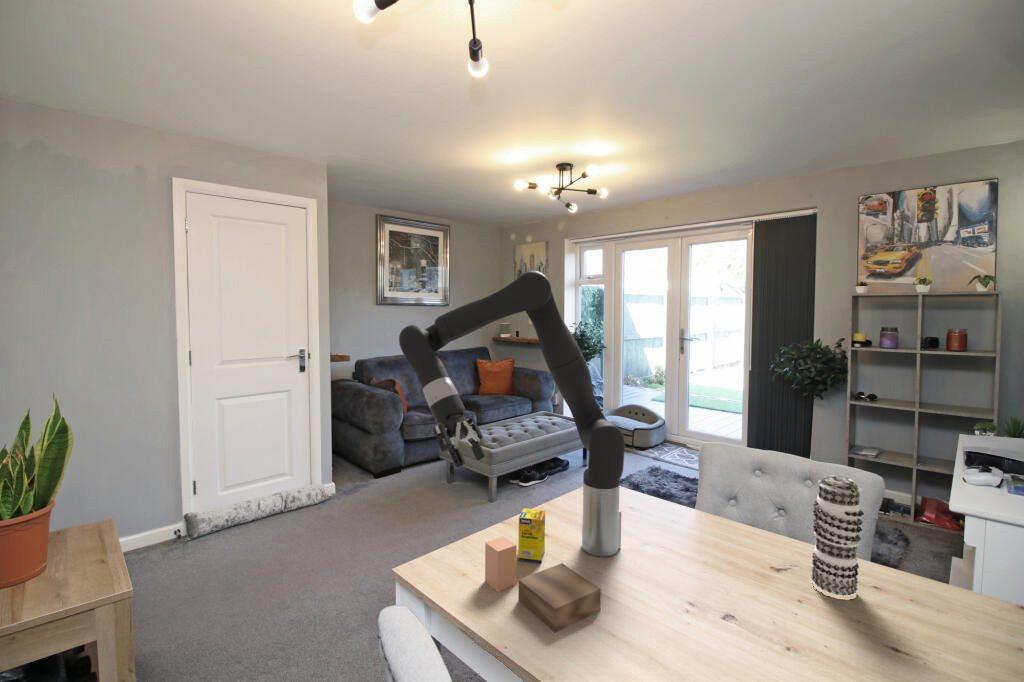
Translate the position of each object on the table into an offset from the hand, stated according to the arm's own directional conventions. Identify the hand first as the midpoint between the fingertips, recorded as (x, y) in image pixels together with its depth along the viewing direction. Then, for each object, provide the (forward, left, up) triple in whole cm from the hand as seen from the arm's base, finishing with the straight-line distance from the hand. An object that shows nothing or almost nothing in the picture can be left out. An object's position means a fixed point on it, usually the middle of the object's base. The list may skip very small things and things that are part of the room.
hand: (471, 462), depth 111 cm
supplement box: (-16, +3, -26) cm, 31 cm away
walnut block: (-8, +22, -26) cm, 35 cm away
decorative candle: (-62, +53, -26) cm, 85 cm away
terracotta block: (-3, +8, -26) cm, 27 cm away
